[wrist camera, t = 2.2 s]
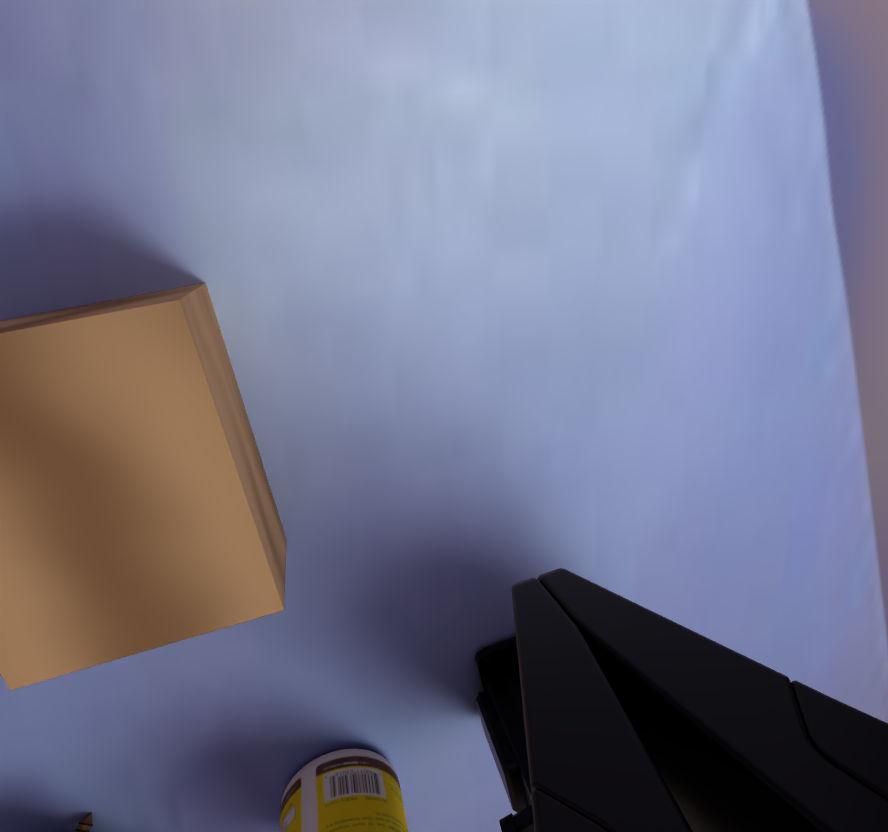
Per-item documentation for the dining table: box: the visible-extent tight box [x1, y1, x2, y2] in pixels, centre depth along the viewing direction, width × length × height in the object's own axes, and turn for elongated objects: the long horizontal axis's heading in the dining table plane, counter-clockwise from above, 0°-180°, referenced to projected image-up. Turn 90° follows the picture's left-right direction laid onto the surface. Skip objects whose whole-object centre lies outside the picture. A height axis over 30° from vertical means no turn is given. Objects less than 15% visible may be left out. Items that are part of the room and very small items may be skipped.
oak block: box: [0, 283, 287, 690], centre depth 17 cm, size 8×10×4 cm
